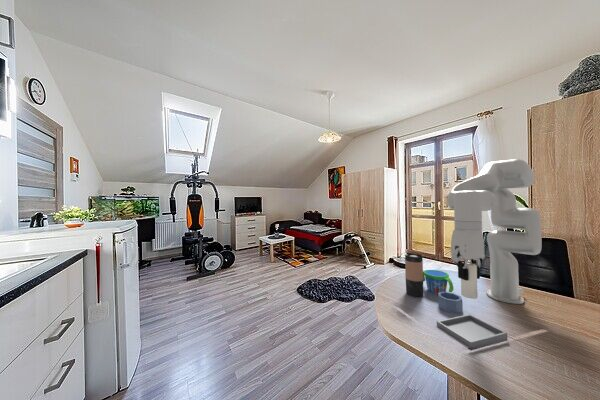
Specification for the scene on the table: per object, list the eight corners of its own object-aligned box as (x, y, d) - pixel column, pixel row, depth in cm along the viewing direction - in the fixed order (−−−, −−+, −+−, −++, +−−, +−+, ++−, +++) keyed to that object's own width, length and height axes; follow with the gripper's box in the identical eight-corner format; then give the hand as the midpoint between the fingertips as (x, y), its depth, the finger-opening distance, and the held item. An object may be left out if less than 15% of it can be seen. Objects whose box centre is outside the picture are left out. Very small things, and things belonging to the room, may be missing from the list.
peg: (467, 292, 76) (466, 262, 76) (480, 297, 71) (480, 265, 72) (458, 293, 75) (457, 263, 75) (471, 299, 70) (470, 266, 70)
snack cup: (415, 288, 111) (415, 268, 111) (432, 285, 114) (431, 267, 114) (441, 301, 96) (440, 279, 96) (459, 298, 98) (459, 277, 98)
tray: (469, 320, 81) (469, 314, 81) (507, 340, 69) (507, 333, 69) (436, 327, 77) (436, 321, 77) (471, 350, 65) (470, 342, 65)
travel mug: (426, 300, 98) (425, 257, 98) (408, 299, 99) (407, 257, 99) (420, 293, 105) (419, 253, 105) (403, 292, 107) (403, 253, 107)
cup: (448, 304, 94) (448, 290, 94) (467, 313, 86) (466, 299, 86) (434, 307, 92) (433, 293, 92) (451, 316, 84) (451, 301, 84)
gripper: (474, 223, 79) (475, 272, 79) (439, 226, 75) (440, 277, 74) (497, 226, 72) (498, 279, 72) (459, 228, 67) (461, 285, 67)
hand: (468, 277), depth 73 cm, fingers closed on peg, 4 cm apart
